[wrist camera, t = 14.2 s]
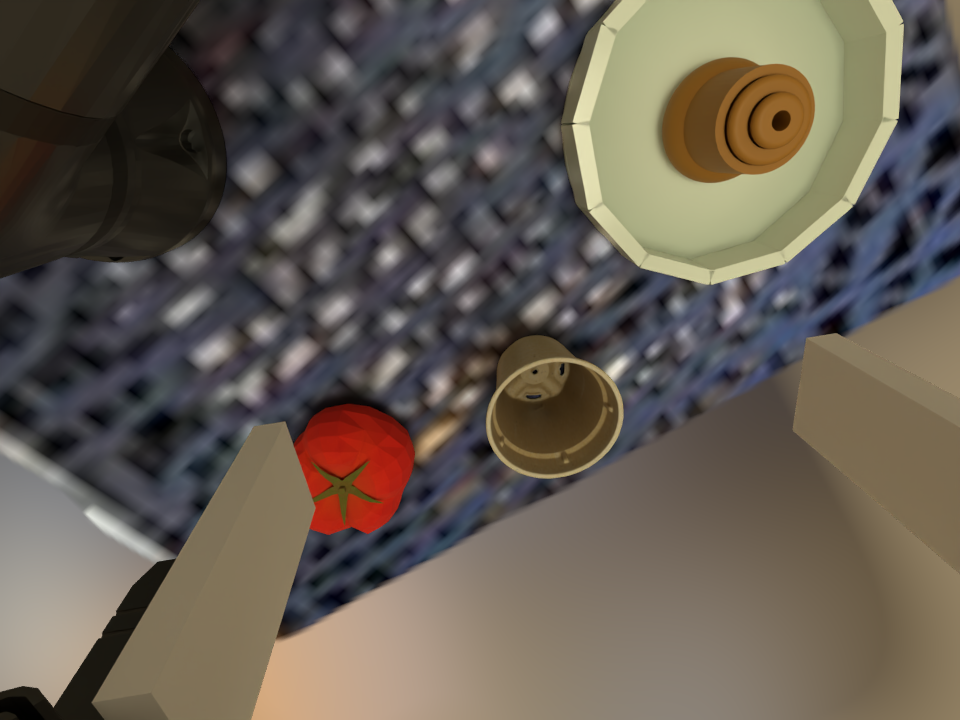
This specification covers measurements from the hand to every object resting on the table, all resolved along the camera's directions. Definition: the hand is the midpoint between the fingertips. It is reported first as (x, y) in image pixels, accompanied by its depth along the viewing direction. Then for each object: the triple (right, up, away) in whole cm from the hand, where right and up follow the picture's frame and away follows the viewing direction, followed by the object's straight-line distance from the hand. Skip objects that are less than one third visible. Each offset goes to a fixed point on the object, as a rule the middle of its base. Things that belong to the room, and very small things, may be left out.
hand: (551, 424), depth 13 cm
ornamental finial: (+14, +18, +22) cm, 31 cm away
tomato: (-13, -6, +32) cm, 35 cm away
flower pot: (+3, +1, +30) cm, 30 cm away
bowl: (+14, +18, +23) cm, 32 cm away
